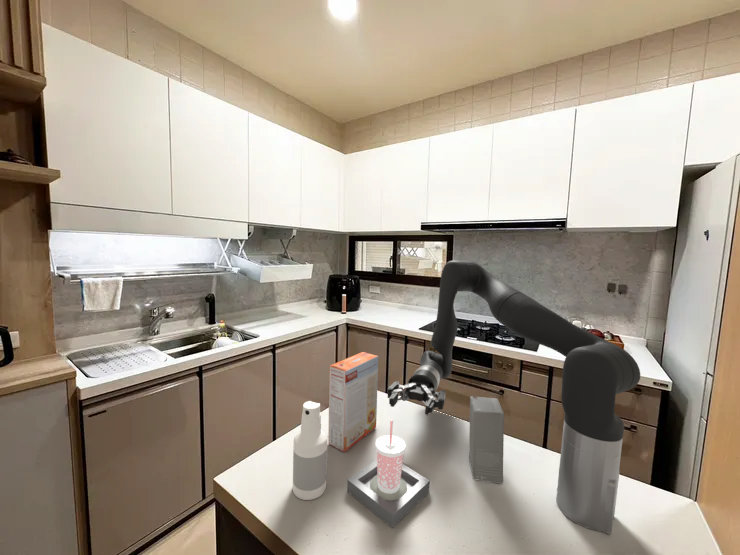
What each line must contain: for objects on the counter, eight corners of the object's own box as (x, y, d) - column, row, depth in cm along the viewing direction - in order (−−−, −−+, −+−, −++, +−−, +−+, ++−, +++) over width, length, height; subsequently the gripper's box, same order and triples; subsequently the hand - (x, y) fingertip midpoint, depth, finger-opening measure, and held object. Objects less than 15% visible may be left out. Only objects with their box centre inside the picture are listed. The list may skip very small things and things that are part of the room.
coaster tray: (429, 492, 65) (429, 480, 65) (392, 528, 56) (393, 515, 56) (385, 463, 73) (385, 453, 73) (347, 490, 64) (347, 479, 64)
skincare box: (503, 485, 68) (509, 415, 66) (468, 479, 69) (473, 410, 68) (495, 460, 76) (500, 397, 74) (465, 455, 77) (469, 393, 76)
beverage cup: (385, 501, 60) (388, 432, 59) (368, 481, 66) (370, 417, 64) (409, 489, 64) (413, 423, 63) (391, 470, 69) (394, 409, 68)
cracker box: (359, 420, 91) (362, 350, 89) (376, 428, 87) (380, 355, 85) (326, 444, 79) (328, 364, 78) (344, 453, 76) (347, 370, 74)
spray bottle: (285, 494, 63) (287, 408, 61) (304, 472, 69) (305, 394, 67) (315, 505, 60) (318, 416, 59) (332, 481, 67) (334, 400, 65)
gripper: (401, 364, 91) (381, 385, 77) (450, 373, 86) (439, 397, 71) (400, 389, 92) (380, 415, 77) (449, 399, 86) (438, 429, 72)
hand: (408, 406), depth 74 cm, fingers open, 8 cm apart
